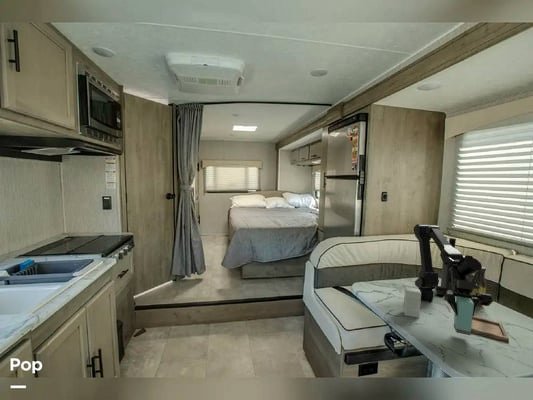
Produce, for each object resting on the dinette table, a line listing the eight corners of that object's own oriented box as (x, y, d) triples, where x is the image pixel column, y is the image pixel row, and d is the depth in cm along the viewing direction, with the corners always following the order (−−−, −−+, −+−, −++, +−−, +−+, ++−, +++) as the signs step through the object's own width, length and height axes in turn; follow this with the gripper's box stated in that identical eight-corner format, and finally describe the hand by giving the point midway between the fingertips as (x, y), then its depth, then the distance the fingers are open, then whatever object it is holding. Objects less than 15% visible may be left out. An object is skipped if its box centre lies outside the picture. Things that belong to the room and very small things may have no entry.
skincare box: (417, 313, 121) (419, 288, 120) (419, 318, 117) (421, 292, 116) (402, 311, 123) (404, 286, 122) (404, 315, 119) (406, 290, 118)
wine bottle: (456, 292, 144) (461, 239, 141) (446, 292, 144) (451, 239, 141) (449, 288, 150) (454, 237, 147) (439, 287, 150) (444, 237, 147)
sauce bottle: (464, 301, 134) (468, 264, 132) (475, 301, 134) (479, 264, 132) (475, 308, 127) (479, 269, 125) (487, 307, 128) (491, 268, 126)
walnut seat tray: (466, 331, 108) (467, 327, 108) (463, 317, 119) (463, 313, 119) (508, 342, 101) (509, 338, 101) (500, 326, 112) (501, 322, 112)
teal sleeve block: (456, 332, 102) (459, 300, 101) (453, 326, 106) (456, 296, 105) (470, 335, 100) (473, 303, 99) (467, 329, 104) (470, 298, 103)
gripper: (437, 267, 108) (440, 304, 99) (494, 275, 100) (502, 316, 92) (432, 278, 116) (434, 313, 107) (484, 286, 108) (491, 325, 99)
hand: (464, 316), depth 101 cm, fingers closed on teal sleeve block, 4 cm apart
